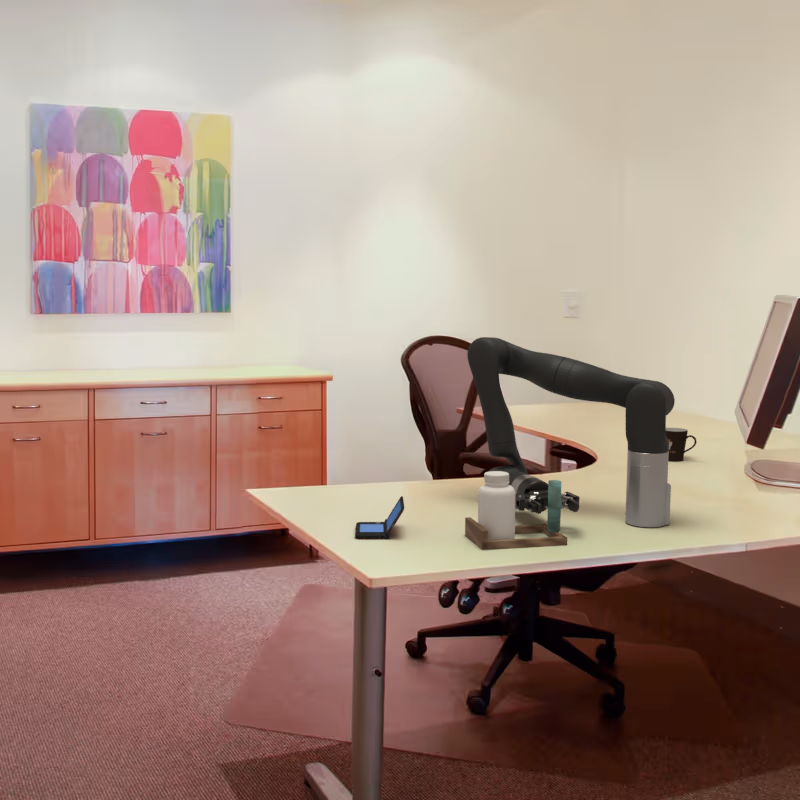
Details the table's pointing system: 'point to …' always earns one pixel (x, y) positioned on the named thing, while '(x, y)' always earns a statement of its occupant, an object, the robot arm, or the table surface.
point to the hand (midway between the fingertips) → (558, 508)
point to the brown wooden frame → (525, 527)
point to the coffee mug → (677, 443)
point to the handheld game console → (380, 524)
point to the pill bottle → (497, 506)
